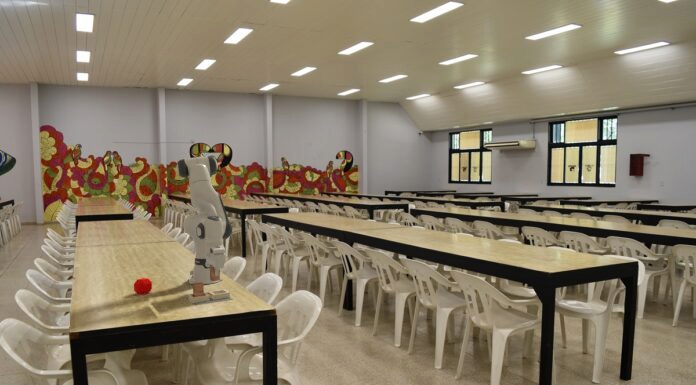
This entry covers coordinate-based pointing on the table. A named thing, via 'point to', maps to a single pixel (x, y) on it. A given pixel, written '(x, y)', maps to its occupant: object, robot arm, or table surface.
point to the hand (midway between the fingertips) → (214, 274)
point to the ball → (142, 286)
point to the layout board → (210, 297)
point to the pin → (198, 289)
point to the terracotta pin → (212, 276)
